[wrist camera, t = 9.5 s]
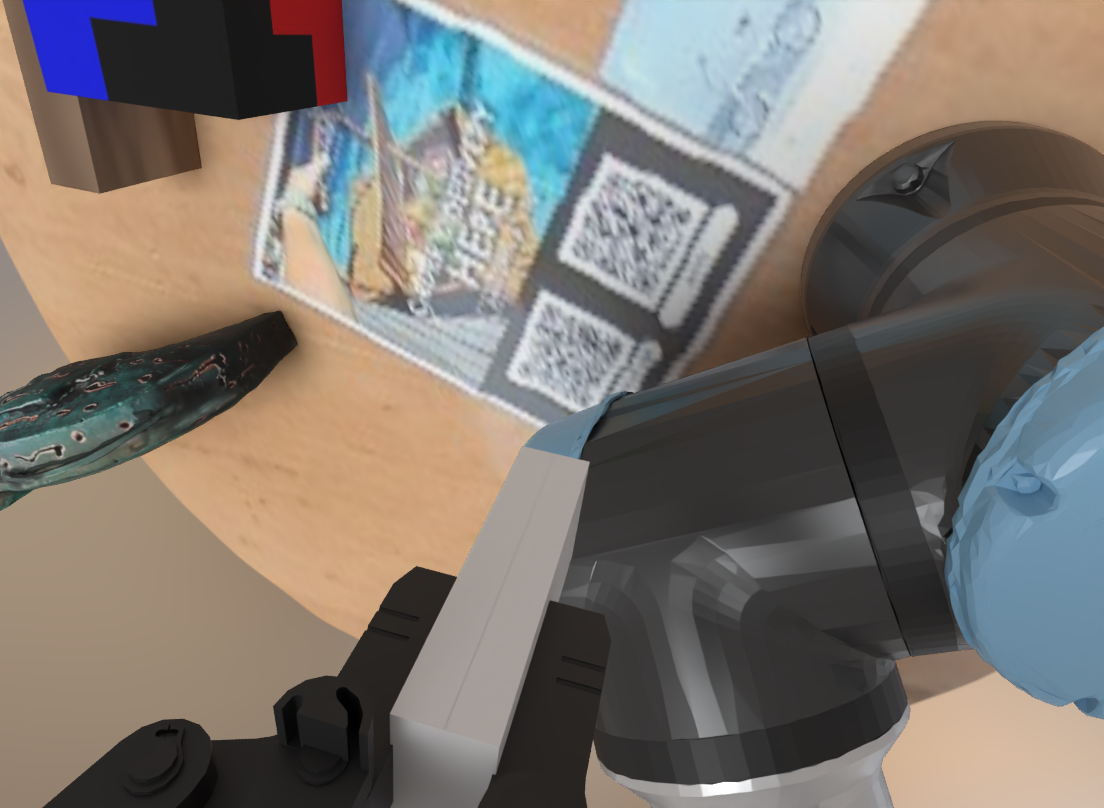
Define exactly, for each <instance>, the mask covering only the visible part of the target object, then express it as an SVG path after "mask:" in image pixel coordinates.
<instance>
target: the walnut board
mask: <svg viewBox="0 0 1104 808" xmlns="http://www.w3.org/2000/svg"><path fill="white" fill-rule="evenodd" d="M3 4H4V8H5V11H6V15H7V19H8V23H9V26H10V30H11V34H12V38H13V42H14V45H15V49H16V53H17V57H18V60H19V64H20V68H21V72H22V76H23V79H24V83H25V87H26V91H27V94H28V98H29V102H30V106H31V110H32V113H33V117H34V121H35V125H36V128H37V132H38V136H39V140H40V144H41V147H42V151H43V155H44V159H45V162H46V166H47V170H48V174H49V178H50V181H51V184H55V185H60V186H65V187H70V188H75V189H80V190H85V191H90V192H94V193H99V194H100V193H104V192H108V191H112V190H116V189H120V188H123V187H127V186H131V185H135V184H139V183H143V182H147V181H151V180H155V179H159V178H163V177H167V176H171V175H175V174H179V173H183V172H187V171H191V170H195V169H199V168H201V163H200V156H199V150H198V143H197V136H196V129H195V123H194V116H193V113H189V112H182V111H175V110H168V109H161V108H155V107H148V106H141V105H134V104H127V103H120V102H114V101H107V100H100V99H93V98H86V97H79V96H73V95H66V94H59V93H52V92H47V89H46V85H45V82H44V78H43V74H42V71H41V67H40V63H39V60H38V56H37V52H36V48H35V45H34V41H33V37H32V34H31V30H30V26H29V23H28V19H27V15H26V12H25V8H24V4H23V0H3Z"/></svg>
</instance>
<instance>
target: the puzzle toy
mask: <svg viewBox="0 0 1104 808" xmlns="http://www.w3.org/2000/svg"><path fill="white" fill-rule="evenodd" d="M23 4H24V8H25V12H26V15H27V19H28V23H29V26H30V30H31V34H32V37H33V41H34V45H35V48H36V52H37V56H38V60H39V63H40V67H41V71H42V74H43V78H44V82H45V85H46V89H47V92H52V93H59V94H66V95H73V96H79V97H86V98H93V99H100V100H107V101H114V102H120V103H127V104H134V105H141V106H148V107H155V108H161V109H168V110H175V111H182V112H189V113H196V114H202V115H209V116H216V117H223V118H230V119H237V120H240V119H246V118H252V117H258V116H264V115H269V114H275V113H281V112H287V111H293V110H298V109H304V108H310V107H316V106H322V105H327V104H333V103H339V102H345V101H347V86H346V69H345V52H344V35H343V18H342V1H341V0H23Z"/></svg>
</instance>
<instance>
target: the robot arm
mask: <svg viewBox="0 0 1104 808" xmlns="http://www.w3.org/2000/svg"><path fill="white" fill-rule="evenodd" d="M801 303H802V309H803V314H804V318H805V321H806V325H807V328H808V331H809V335H810V337H808V338H807V337H805V338H802V339H799V340H796V341H793V342H790V343H787V344H784V345H781V346H778V347H775V348H772V349H769V350H766V351H763V352H760V353H757V354H754V355H751V356H748V357H744V358H741V359H738V360H735V361H732V362H729V363H726V364H723V365H720V366H717V367H714V368H711V369H708V370H705V371H702V372H699V373H696V374H693V375H690V376H687V377H684V378H681V379H678V380H675V381H671V382H668V383H665V384H662V385H659V386H655V387H652V388H649V389H646V390H643V391H639V392H636V393H633V392H626V391H621V392H618V393H615V394H612V395H610V396H608V397H607V398H606V399H604V400H603V401H602V402H601V403H600V404H598V405H596V406H593V407H590V408H588V409H585V410H583V411H580V412H577V413H575V414H572V415H570V416H567V417H565V418H562V419H559V420H557V421H554V422H552V423H550V424H548V425H546V426H545V427H543V428H542V429H540V430H539V431H538V432H537V433H535V434H534V435H533V436H532V437H531V438H530V439H529V440H528V441H527V443H526V444H525V445H524V446H522V447H521V449H520V451H519V453H518V456H517V458H516V460H515V462H514V464H513V466H512V468H511V470H510V472H509V474H508V476H507V478H506V480H505V482H504V484H503V486H502V488H501V490H500V492H499V494H498V496H497V498H496V500H495V502H494V504H493V506H492V508H491V510H490V512H489V514H488V516H487V518H486V520H485V522H484V524H483V526H482V528H481V530H480V532H479V534H478V536H477V538H476V540H475V543H474V545H473V547H472V549H471V551H470V553H469V555H468V557H467V559H466V561H465V563H464V565H463V567H462V569H461V571H460V573H459V575H458V577H455V576H452V575H448V574H444V573H440V572H437V571H433V570H429V569H425V568H422V567H418V566H416V567H415V568H413V569H412V570H411V571H409V572H408V573H407V574H405V575H404V576H403V577H401V578H400V579H399V580H397V581H396V582H395V583H394V584H393V585H392V587H391V589H390V590H389V592H388V594H387V595H386V597H385V599H384V600H383V602H382V604H381V605H380V608H379V611H377V612H376V613H375V615H374V617H373V618H372V620H371V622H370V623H369V625H368V629H367V630H365V632H364V633H363V635H362V637H361V638H360V640H359V642H358V644H357V645H356V647H355V648H354V650H353V652H352V653H351V655H350V657H349V658H348V660H347V662H346V663H345V665H344V666H343V668H342V670H341V671H340V673H339V675H338V676H337V677H335V676H323V677H318V678H314V679H309V680H306V681H304V682H302V683H301V684H299V685H297V686H295V687H293V688H292V689H290V690H288V691H287V692H286V693H285V694H284V695H283V696H282V697H281V699H279V701H278V702H277V703H276V704H275V705H274V706H273V708H274V715H275V721H276V727H277V735H275V736H271V737H264V738H258V739H235V740H210V737H209V735H208V734H207V733H206V732H205V731H204V729H203V728H202V727H201V726H200V725H199V724H196V723H193V722H191V721H188V720H185V719H169V720H161V721H158V722H155V723H153V724H150V725H147V726H144V727H141V728H140V729H138V730H137V731H135V732H134V733H132V734H131V735H129V736H128V737H126V738H125V739H123V740H122V741H120V742H119V743H118V744H117V745H116V746H114V747H113V748H112V749H111V750H110V751H109V752H107V753H106V754H105V755H104V756H103V757H101V759H99V760H98V761H97V762H96V763H94V764H93V765H92V766H91V767H90V768H89V769H87V770H86V771H85V772H84V773H83V774H81V775H80V776H79V777H78V778H77V779H76V780H74V781H73V782H72V783H71V784H70V785H69V786H67V787H66V788H65V789H64V790H63V791H61V792H60V793H59V794H58V795H57V796H56V797H54V798H53V799H52V800H51V801H50V802H48V803H47V804H46V805H45V806H44V807H43V808H587V803H586V798H585V781H586V780H585V779H586V773H587V768H588V763H589V758H590V752H591V747H592V742H593V741H594V745H595V749H596V754H597V758H598V761H599V764H600V767H601V769H602V770H603V771H604V773H605V774H606V775H607V776H609V777H610V778H612V779H613V780H614V781H616V782H617V783H619V784H620V785H622V786H623V787H625V788H627V789H628V790H630V791H631V792H633V793H634V794H636V795H637V796H639V797H640V798H642V799H644V800H645V801H647V802H648V803H649V804H650V807H651V808H894V807H893V804H892V800H891V797H890V794H889V791H888V787H887V784H886V781H885V778H884V775H883V771H882V768H881V764H882V761H883V758H884V757H885V755H886V754H887V752H888V751H889V750H890V748H891V747H892V745H893V744H894V742H895V741H896V740H897V738H898V737H899V735H900V734H901V732H902V731H903V730H904V728H905V726H906V724H907V722H908V720H909V716H910V706H909V701H908V698H907V695H906V693H905V690H904V687H903V684H902V681H901V678H900V675H899V671H898V668H897V665H896V662H895V660H898V659H901V658H905V657H909V656H912V657H914V656H919V655H927V654H935V653H944V652H952V651H960V650H968V649H975V650H976V651H977V653H978V654H979V655H980V657H981V658H982V660H983V661H985V662H987V663H988V664H990V665H992V666H993V667H994V668H995V670H997V671H998V672H999V673H1000V675H1001V676H1002V677H1004V678H1005V679H1007V680H1008V681H1010V682H1011V683H1012V684H1013V685H1015V686H1016V687H1017V688H1019V689H1021V690H1023V691H1025V692H1026V693H1028V694H1029V695H1031V696H1032V697H1034V698H1036V699H1038V700H1041V701H1043V702H1046V703H1049V704H1052V705H1054V706H1058V707H1059V706H1064V705H1067V704H1069V703H1071V702H1074V704H1075V705H1076V706H1077V707H1078V709H1079V710H1081V711H1082V712H1083V713H1085V714H1086V715H1088V716H1092V717H1096V718H1100V719H1104V155H1103V154H1101V153H1100V152H1099V151H1097V150H1096V149H1094V148H1092V147H1091V146H1089V145H1087V144H1086V143H1084V142H1081V141H1079V140H1077V139H1075V138H1073V137H1070V136H1067V135H1065V134H1062V133H1058V132H1055V131H1052V130H1048V129H1045V128H1041V127H1038V126H1034V125H1029V124H1024V123H1017V122H1005V121H986V122H974V123H967V124H961V125H955V126H951V127H947V128H943V129H940V130H937V131H933V132H930V133H928V134H925V135H922V136H920V137H917V138H915V139H913V140H911V141H908V142H906V143H904V144H902V145H900V146H898V147H897V148H895V149H893V150H891V151H890V152H888V153H886V154H885V155H883V156H882V157H880V158H879V159H877V160H876V161H874V162H873V163H872V164H870V165H869V166H868V167H866V168H865V169H864V170H863V171H861V172H860V173H859V174H858V175H857V176H856V177H855V178H854V179H853V180H851V181H850V183H849V184H848V185H847V186H846V187H845V188H844V189H843V190H842V191H841V192H840V193H839V194H838V196H837V197H836V198H835V199H834V201H833V202H832V203H831V205H830V206H829V207H828V209H827V210H826V212H825V213H824V215H823V216H822V218H821V220H820V221H819V223H818V225H817V227H816V229H815V231H814V233H813V235H812V237H811V240H810V243H809V245H808V248H807V251H806V255H805V258H804V262H803V267H802V274H801Z"/></svg>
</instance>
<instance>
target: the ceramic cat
mask: <svg viewBox="0 0 1104 808" xmlns="http://www.w3.org/2000/svg"><path fill="white" fill-rule="evenodd" d="M295 346H296V340H295V338H294V336H293V334H292V332H291V331H290V329H289V328H288V327H287V325H286V323H285V320H284V318H283V316H282V314H281V312H279V311H276V312H271V313H264V314H262V315H259V316H257V317H255V318H252V319H249V320H246V321H244V322H241V323H239V324H235V325H232V326H229V327H225V328H223V329H220V330H217V331H214V332H211V333H208V334H205V335H202V336H199V337H196V338H193V339H190V340H187V341H184V342H180V343H177V344H172V345H168V346H165V347H162V348H159V349H155V350H150V351H144V352H138V353H137V352H136V353H135V352H123V353H119V354H115V355H111V356H106V357H100V358H94V359H89V360H84V361H78V362H75V363H71V364H68V365H66V366H63V367H60V368H58V369H56V370H55V371H53V372H51V373H47V374H42V375H40V376H38V377H36V378H34V379H33V380H32V381H30V382H29V383H28V384H27V385H26V386H24V387H21V388H19V389H16V390H15V391H11V392H7V393H6V394H4V395H3V396H1V397H0V511H1V510H3V509H5V508H7V507H8V506H10V505H11V504H13V503H14V502H16V501H17V500H18V499H20V498H22V497H23V496H25V495H27V494H28V493H29V492H31V491H32V490H34V489H38V488H41V487H46V486H52V485H57V484H61V483H65V482H69V481H72V480H76V479H79V478H82V477H86V476H89V475H92V474H96V473H99V472H102V471H105V470H107V469H110V468H112V467H115V466H117V465H120V464H122V463H124V462H127V461H129V460H132V459H134V458H137V457H139V456H142V455H144V454H146V453H148V452H150V451H152V450H154V449H156V448H158V447H160V446H162V445H164V444H166V443H168V442H170V441H172V440H174V439H176V438H178V437H180V436H182V435H184V434H186V433H188V432H189V431H191V430H193V429H195V428H197V427H199V426H201V425H203V424H204V423H206V422H207V421H209V420H210V419H212V418H213V417H215V416H217V415H219V414H221V413H223V412H224V411H226V410H228V409H230V408H231V407H233V406H234V405H235V404H237V403H238V402H239V401H240V400H241V399H242V398H243V397H244V396H245V395H246V394H248V393H249V392H250V391H252V390H253V389H255V388H256V387H257V386H258V385H259V384H260V383H261V382H262V381H263V379H265V378H266V377H267V376H268V374H269V373H270V372H271V371H272V370H273V369H274V367H275V366H276V365H277V364H278V363H279V362H280V361H281V360H282V359H283V358H284V357H285V356H286V355H287V354H288V353H289V352H291V351H292V350H293V349H294V347H295Z"/></svg>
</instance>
